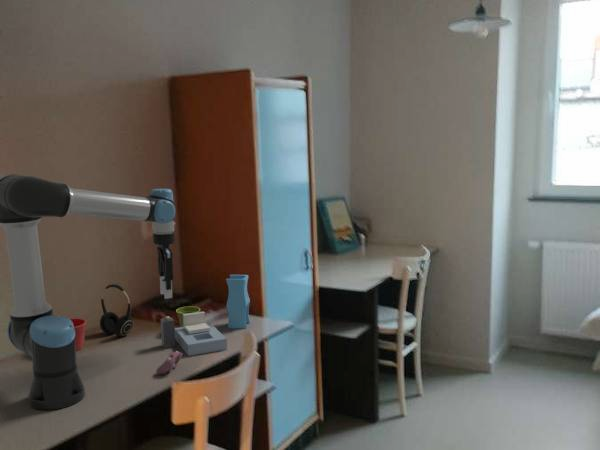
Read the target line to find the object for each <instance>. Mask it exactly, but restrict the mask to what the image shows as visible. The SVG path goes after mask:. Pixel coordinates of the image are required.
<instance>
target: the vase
mask: <svg viewBox="0 0 600 450" xmlns="http://www.w3.org/2000/svg"><path fill="white" fill-rule="evenodd" d="M225 281H226V284H227V286H228V296H227V301H226V309H227V313H228V323H227V328H228V329H243V330H244V329H245V330H246V329H248V326H247V324H250V323H251V320H250V315H249V310H250V309H249V307H250V303H251V299H250V297H249V293H248V281H249V275H248V274H230V275H229V278H226V279H225Z"/></svg>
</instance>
